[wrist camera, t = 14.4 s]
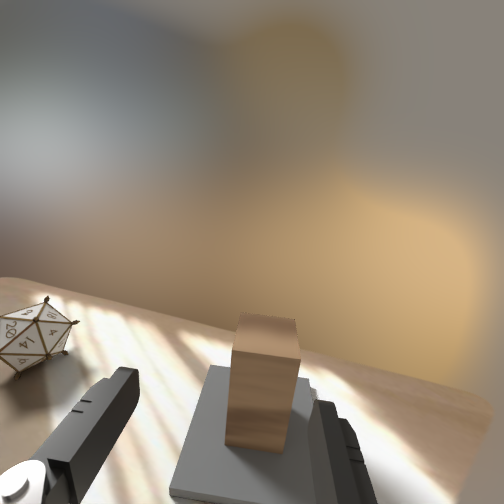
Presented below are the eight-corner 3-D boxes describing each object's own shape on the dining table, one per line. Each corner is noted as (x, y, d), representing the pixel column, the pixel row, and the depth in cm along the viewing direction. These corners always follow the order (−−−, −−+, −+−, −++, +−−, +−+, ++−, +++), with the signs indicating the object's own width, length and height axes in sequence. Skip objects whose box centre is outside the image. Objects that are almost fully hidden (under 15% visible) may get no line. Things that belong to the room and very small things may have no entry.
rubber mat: (330, 523, 18) (332, 515, 18) (169, 495, 19) (169, 487, 19) (307, 384, 31) (308, 378, 30) (210, 370, 31) (210, 364, 31)
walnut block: (282, 454, 22) (300, 359, 18) (224, 445, 22) (231, 349, 19) (280, 400, 27) (294, 319, 24) (233, 393, 27) (240, 312, 24)
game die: (57, 386, 31) (69, 359, 26) (-36, 389, 27) (-44, 357, 21) (77, 323, 37) (90, 290, 32) (3, 316, 32) (4, 276, 27)
